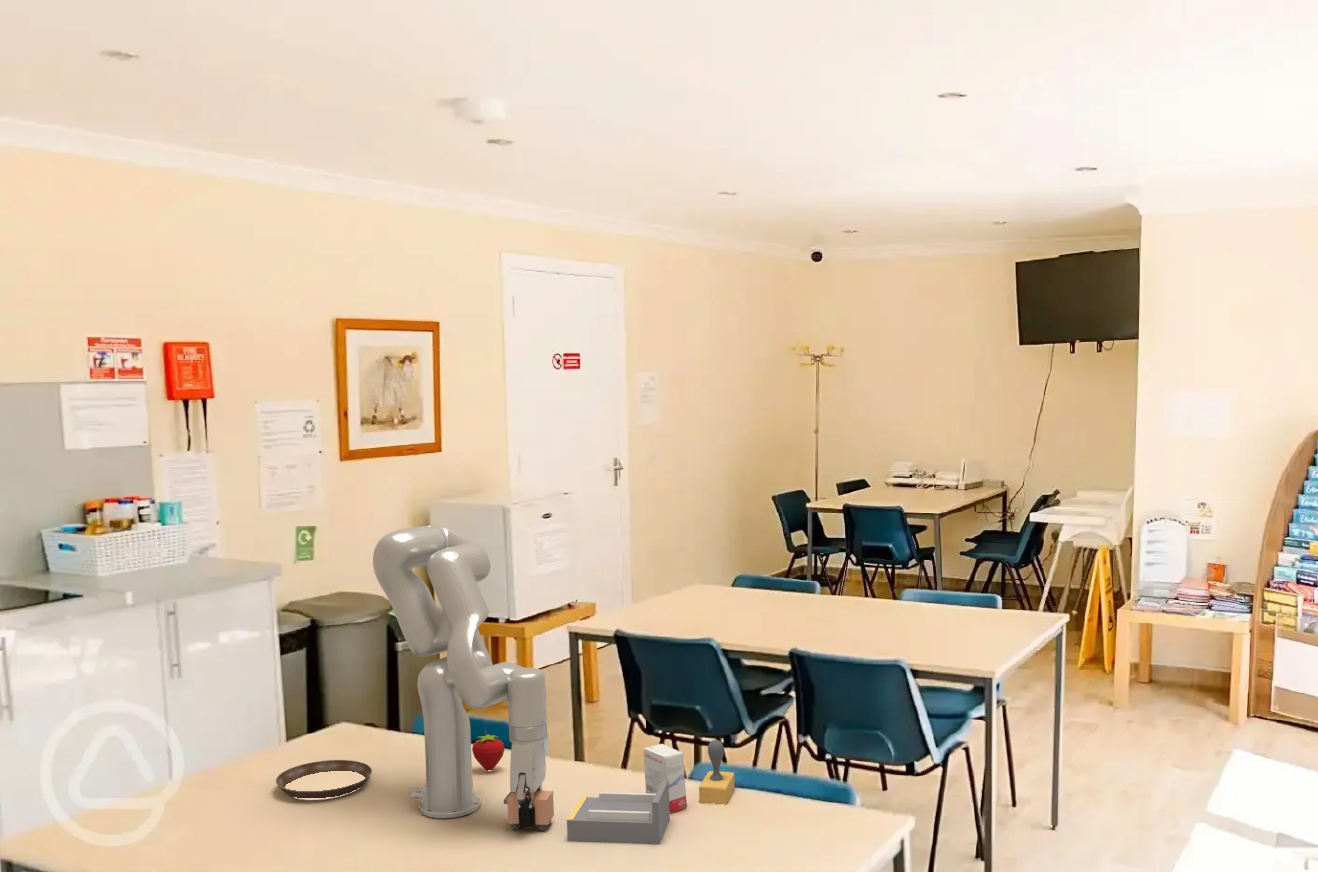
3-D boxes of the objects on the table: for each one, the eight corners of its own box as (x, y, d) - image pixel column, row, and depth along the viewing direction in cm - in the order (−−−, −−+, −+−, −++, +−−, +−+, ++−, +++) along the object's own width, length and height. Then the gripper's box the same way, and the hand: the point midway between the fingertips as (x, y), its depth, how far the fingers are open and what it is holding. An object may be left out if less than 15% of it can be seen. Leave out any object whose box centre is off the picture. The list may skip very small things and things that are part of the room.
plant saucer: (392, 782, 256) (391, 767, 256) (320, 812, 238) (319, 796, 238) (329, 768, 267) (328, 754, 267) (256, 795, 250) (255, 781, 249)
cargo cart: (504, 831, 224) (503, 798, 224) (512, 821, 229) (510, 789, 229) (547, 832, 223) (546, 799, 222) (554, 822, 228) (553, 791, 227)
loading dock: (567, 841, 218) (566, 800, 218) (582, 816, 230) (581, 777, 230) (659, 844, 215) (658, 802, 215) (669, 819, 227) (668, 780, 227)
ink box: (687, 809, 233) (686, 752, 232) (667, 815, 230) (665, 757, 229) (664, 797, 240) (662, 742, 240) (644, 803, 237) (642, 747, 237)
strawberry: (501, 776, 257) (500, 733, 256) (469, 776, 257) (467, 732, 257) (508, 768, 262) (507, 725, 262) (477, 767, 263) (475, 725, 263)
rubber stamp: (708, 787, 246) (707, 732, 245) (734, 788, 244) (733, 734, 244) (699, 803, 236) (697, 746, 236) (726, 805, 235) (724, 748, 234)
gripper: (522, 719, 234) (525, 805, 235) (496, 744, 217) (500, 837, 218) (557, 719, 233) (560, 806, 233) (534, 745, 216) (538, 839, 217)
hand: (531, 820), depth 226 cm, fingers closed on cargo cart, 5 cm apart
